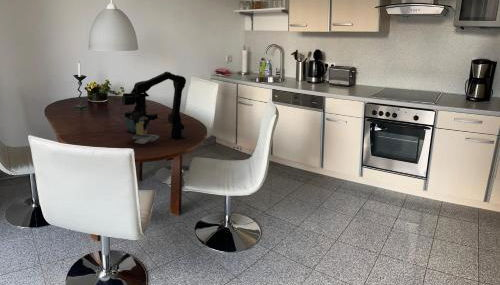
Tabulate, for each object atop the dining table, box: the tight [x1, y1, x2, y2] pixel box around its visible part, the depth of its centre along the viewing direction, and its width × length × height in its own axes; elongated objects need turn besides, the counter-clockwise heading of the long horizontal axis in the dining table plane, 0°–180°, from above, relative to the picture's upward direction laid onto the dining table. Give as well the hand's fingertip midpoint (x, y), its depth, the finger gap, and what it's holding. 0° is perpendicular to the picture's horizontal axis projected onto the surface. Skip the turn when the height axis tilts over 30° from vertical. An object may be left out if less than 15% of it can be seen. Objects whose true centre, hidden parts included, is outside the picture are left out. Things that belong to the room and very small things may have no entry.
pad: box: [134, 139, 150, 145], centre depth 225 cm, size 6×6×1 cm
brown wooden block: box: [135, 121, 148, 135], centre depth 223 cm, size 4×4×7 cm
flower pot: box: [124, 117, 145, 133], centre depth 245 cm, size 9×9×9 cm
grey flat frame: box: [131, 133, 160, 142], centre depth 232 cm, size 14×8×2 cm, turn 79°
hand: (141, 129), depth 223 cm, fingers closed on brown wooden block, 4 cm apart
